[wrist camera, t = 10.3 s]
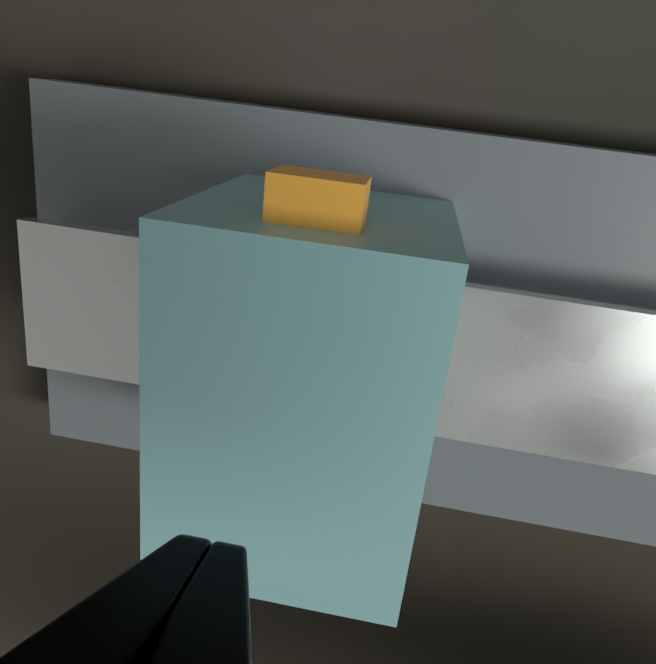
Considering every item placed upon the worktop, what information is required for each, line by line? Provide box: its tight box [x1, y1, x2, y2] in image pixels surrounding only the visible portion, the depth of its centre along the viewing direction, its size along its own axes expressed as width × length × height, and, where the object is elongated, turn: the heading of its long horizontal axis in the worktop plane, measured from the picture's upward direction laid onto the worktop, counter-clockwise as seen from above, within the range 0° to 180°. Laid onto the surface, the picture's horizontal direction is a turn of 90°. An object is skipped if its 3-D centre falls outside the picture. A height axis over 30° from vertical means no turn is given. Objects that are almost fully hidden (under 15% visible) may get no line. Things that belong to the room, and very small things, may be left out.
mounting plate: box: [29, 78, 656, 546], centre depth 16 cm, size 20×10×2 cm, turn 84°
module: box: [139, 164, 469, 627], centre depth 13 cm, size 5×8×6 cm, turn 174°
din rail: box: [17, 217, 656, 475], centre depth 15 cm, size 19×4×2 cm, turn 84°
